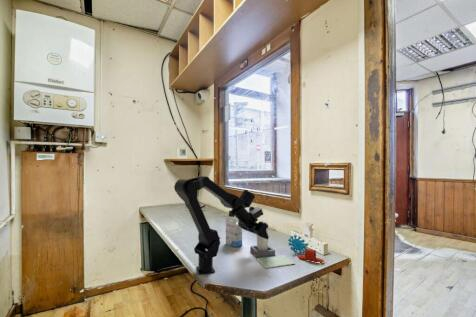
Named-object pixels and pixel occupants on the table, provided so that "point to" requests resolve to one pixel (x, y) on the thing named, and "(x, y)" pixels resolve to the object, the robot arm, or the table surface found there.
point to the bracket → (310, 256)
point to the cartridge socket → (262, 252)
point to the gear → (297, 244)
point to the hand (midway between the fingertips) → (262, 235)
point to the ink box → (233, 232)
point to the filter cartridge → (262, 243)
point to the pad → (274, 261)
